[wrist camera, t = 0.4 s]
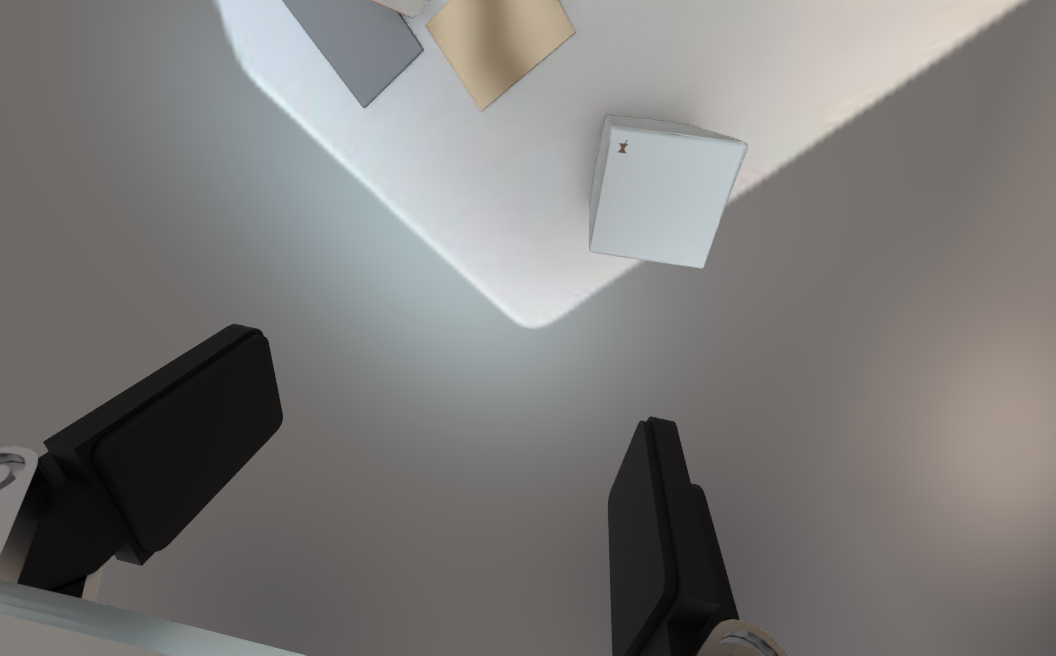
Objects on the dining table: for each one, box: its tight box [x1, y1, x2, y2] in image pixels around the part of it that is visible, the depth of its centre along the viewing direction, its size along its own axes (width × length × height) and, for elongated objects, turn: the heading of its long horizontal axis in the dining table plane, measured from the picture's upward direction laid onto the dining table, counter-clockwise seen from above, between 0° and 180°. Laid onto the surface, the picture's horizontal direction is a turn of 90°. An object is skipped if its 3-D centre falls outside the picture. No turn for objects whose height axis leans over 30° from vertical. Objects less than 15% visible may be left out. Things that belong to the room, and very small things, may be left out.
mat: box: [282, 0, 424, 108], centre depth 31 cm, size 7×12×1 cm, turn 35°
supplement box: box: [589, 115, 748, 268], centre depth 29 cm, size 7×7×13 cm
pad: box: [425, 0, 575, 111], centre depth 30 cm, size 9×7×1 cm
